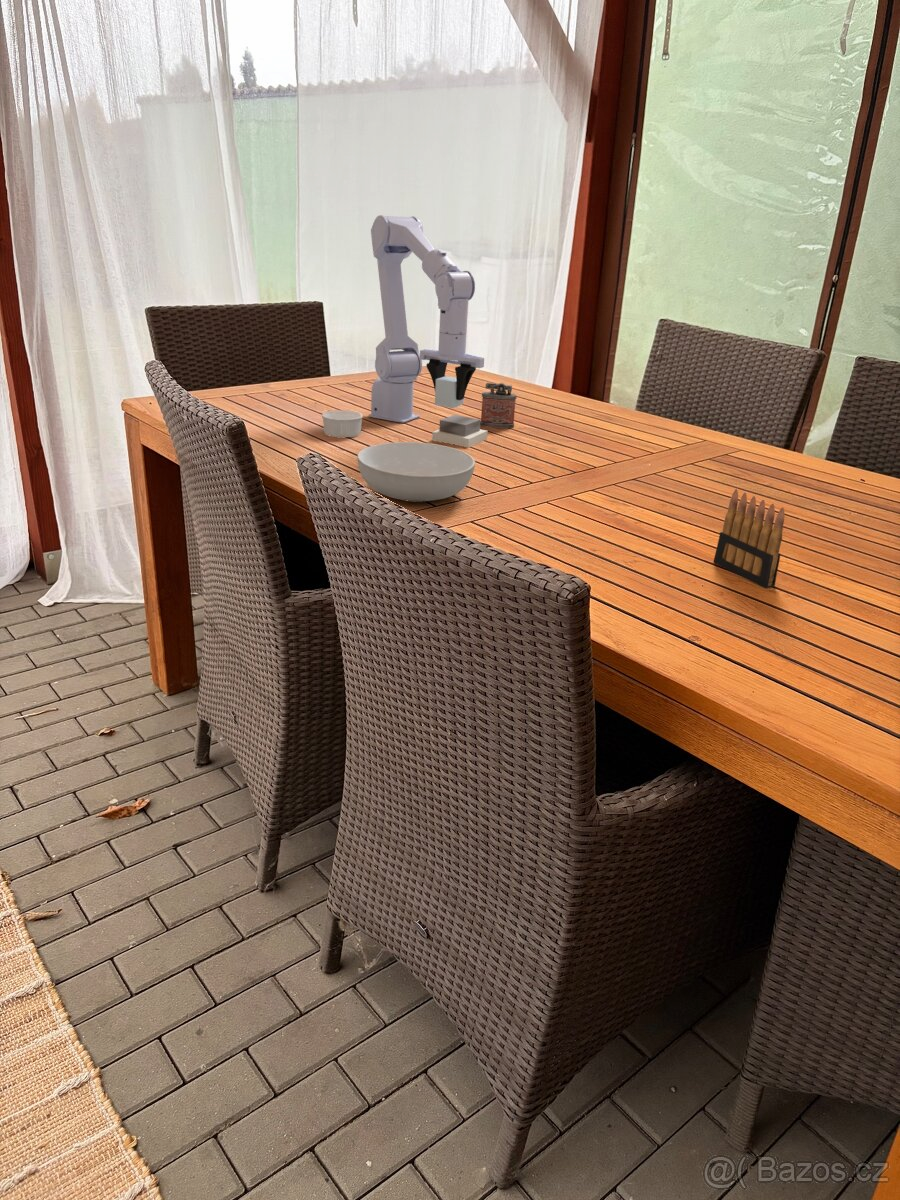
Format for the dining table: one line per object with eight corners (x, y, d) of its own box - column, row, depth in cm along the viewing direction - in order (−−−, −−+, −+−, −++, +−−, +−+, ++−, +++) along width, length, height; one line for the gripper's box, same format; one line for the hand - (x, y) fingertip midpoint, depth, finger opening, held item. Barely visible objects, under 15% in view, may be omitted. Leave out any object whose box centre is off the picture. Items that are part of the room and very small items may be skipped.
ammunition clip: (712, 562, 137) (727, 487, 132) (721, 560, 138) (736, 486, 133) (766, 588, 129) (783, 510, 124) (774, 586, 130) (792, 508, 125)
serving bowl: (385, 519, 147) (386, 479, 144) (339, 482, 164) (339, 446, 161) (494, 506, 156) (496, 468, 154) (440, 472, 173) (441, 437, 170)
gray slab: (439, 431, 194) (439, 419, 193) (454, 425, 200) (455, 414, 198) (465, 436, 191) (465, 425, 190) (479, 430, 197) (480, 419, 196)
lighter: (514, 425, 211) (517, 382, 206) (513, 428, 208) (517, 385, 203) (480, 422, 211) (483, 380, 207) (479, 426, 208) (482, 383, 204)
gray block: (434, 404, 191) (435, 379, 189) (444, 401, 195) (446, 376, 192) (452, 408, 189) (454, 382, 187) (462, 404, 193) (464, 379, 190)
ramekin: (314, 435, 193) (314, 415, 192) (334, 427, 201) (334, 407, 199) (350, 441, 191) (350, 421, 189) (369, 432, 198) (369, 413, 196)
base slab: (432, 443, 195) (432, 432, 193) (451, 435, 202) (451, 424, 201) (468, 450, 191) (469, 438, 190) (486, 441, 198) (487, 430, 197)
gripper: (413, 330, 186) (411, 395, 191) (474, 338, 179) (470, 405, 185) (430, 327, 191) (427, 390, 197) (490, 335, 185) (486, 400, 191)
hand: (449, 397), depth 191 cm, fingers closed on gray block, 4 cm apart
